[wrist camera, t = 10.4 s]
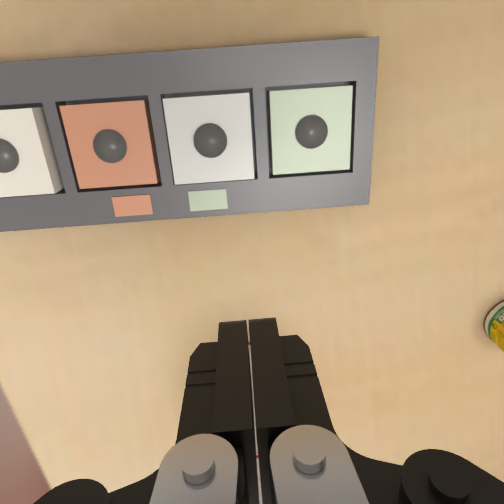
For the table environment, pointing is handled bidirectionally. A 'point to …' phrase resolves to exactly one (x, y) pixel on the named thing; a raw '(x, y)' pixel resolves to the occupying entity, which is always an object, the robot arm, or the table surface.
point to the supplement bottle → (496, 325)
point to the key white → (210, 138)
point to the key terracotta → (112, 143)
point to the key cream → (27, 154)
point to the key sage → (310, 129)
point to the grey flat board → (155, 90)
